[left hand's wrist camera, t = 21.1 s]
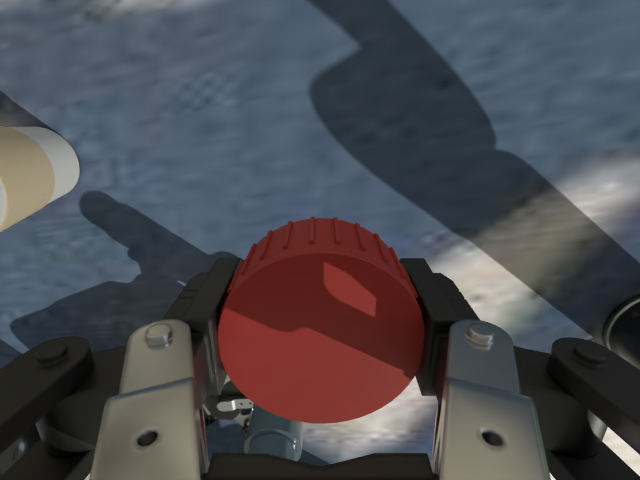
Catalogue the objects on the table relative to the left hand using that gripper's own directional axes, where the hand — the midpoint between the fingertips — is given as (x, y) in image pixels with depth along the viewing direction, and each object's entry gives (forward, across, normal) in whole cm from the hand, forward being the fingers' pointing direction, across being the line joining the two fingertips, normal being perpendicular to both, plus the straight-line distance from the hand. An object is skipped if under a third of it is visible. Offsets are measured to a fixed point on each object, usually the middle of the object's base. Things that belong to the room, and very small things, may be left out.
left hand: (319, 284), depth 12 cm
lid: (-3, 0, 0) cm, 3 cm away
